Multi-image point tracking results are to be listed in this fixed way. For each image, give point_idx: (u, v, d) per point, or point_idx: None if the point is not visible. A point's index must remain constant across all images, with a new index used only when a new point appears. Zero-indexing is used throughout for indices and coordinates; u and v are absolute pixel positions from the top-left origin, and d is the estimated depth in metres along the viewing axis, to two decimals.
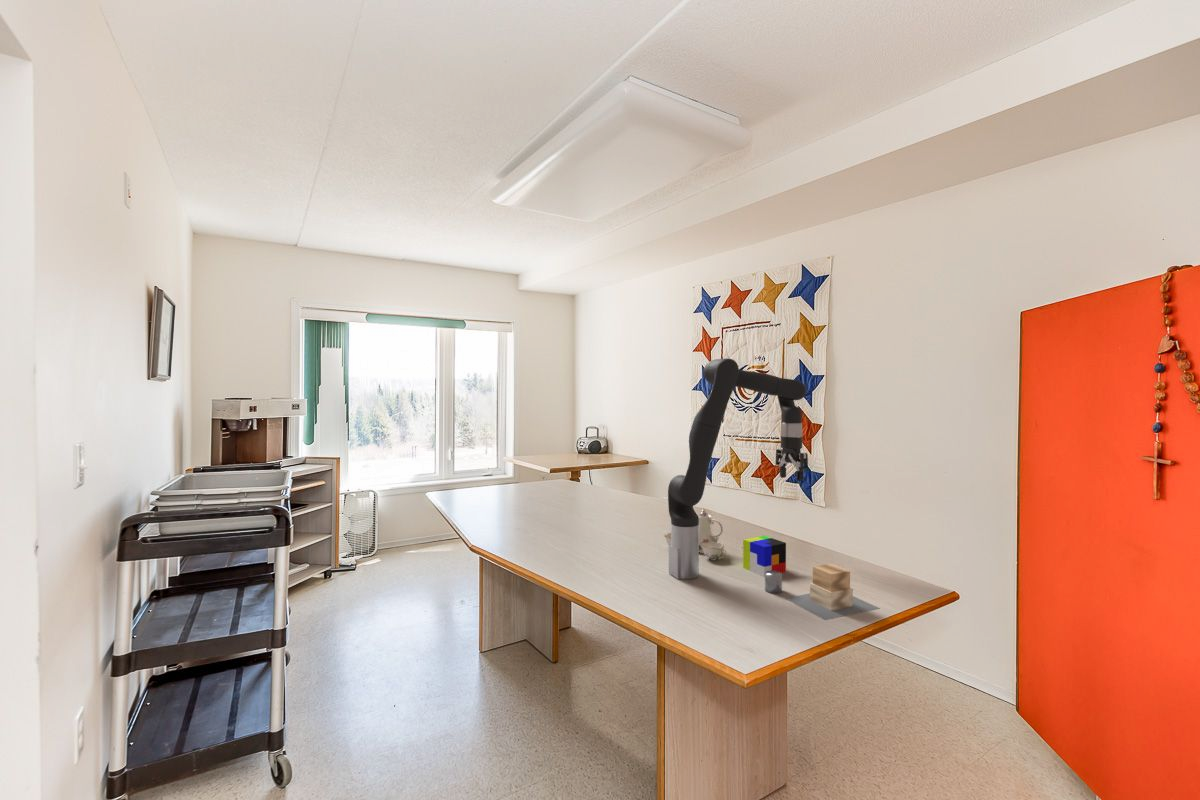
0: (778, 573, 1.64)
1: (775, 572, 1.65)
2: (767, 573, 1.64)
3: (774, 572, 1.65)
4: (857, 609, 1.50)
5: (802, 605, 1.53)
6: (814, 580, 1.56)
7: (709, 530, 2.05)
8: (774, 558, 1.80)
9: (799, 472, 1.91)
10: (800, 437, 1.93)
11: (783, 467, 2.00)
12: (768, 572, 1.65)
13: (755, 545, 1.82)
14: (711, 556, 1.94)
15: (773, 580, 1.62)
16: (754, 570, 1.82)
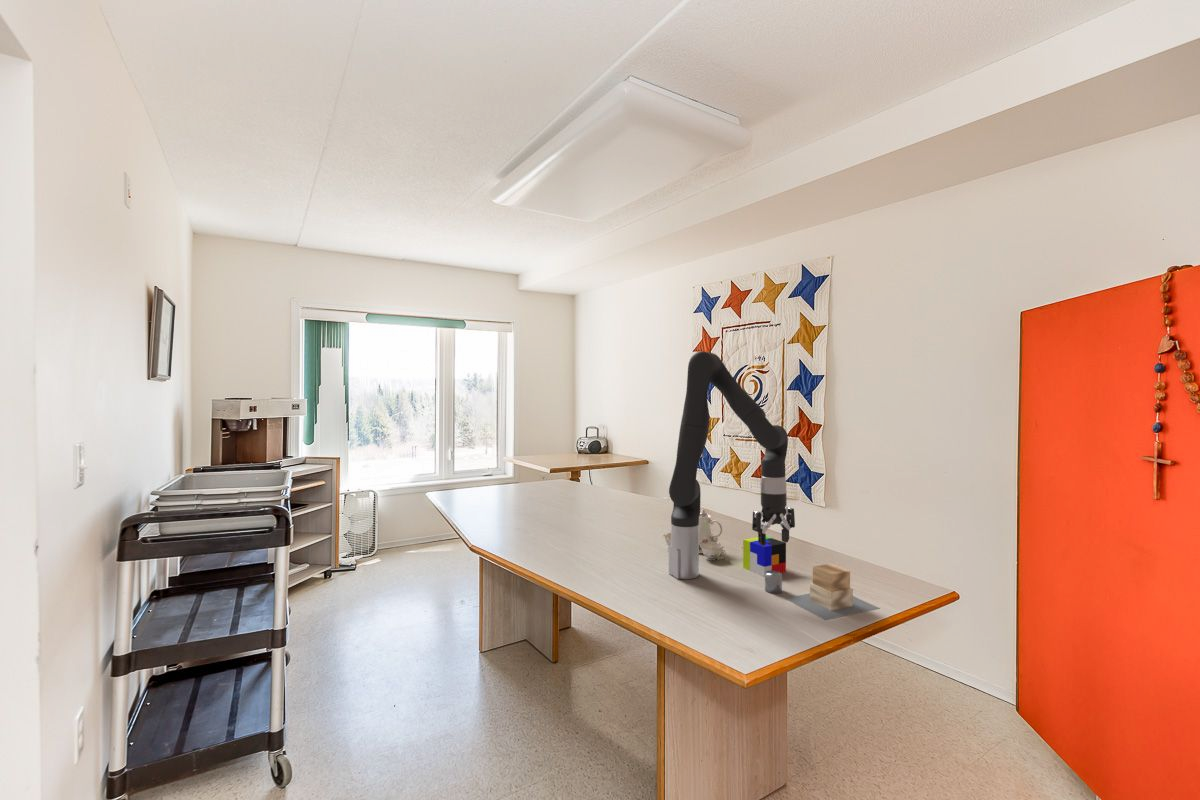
0: (778, 573, 1.64)
1: (775, 572, 1.65)
2: (767, 573, 1.64)
3: (774, 572, 1.65)
4: (857, 609, 1.50)
5: (802, 605, 1.53)
6: (814, 580, 1.56)
7: (709, 530, 2.05)
8: (774, 558, 1.80)
9: (788, 531, 1.65)
10: None
11: None
12: (768, 572, 1.65)
13: (755, 545, 1.82)
14: (710, 556, 1.94)
15: (773, 580, 1.62)
16: (754, 570, 1.82)
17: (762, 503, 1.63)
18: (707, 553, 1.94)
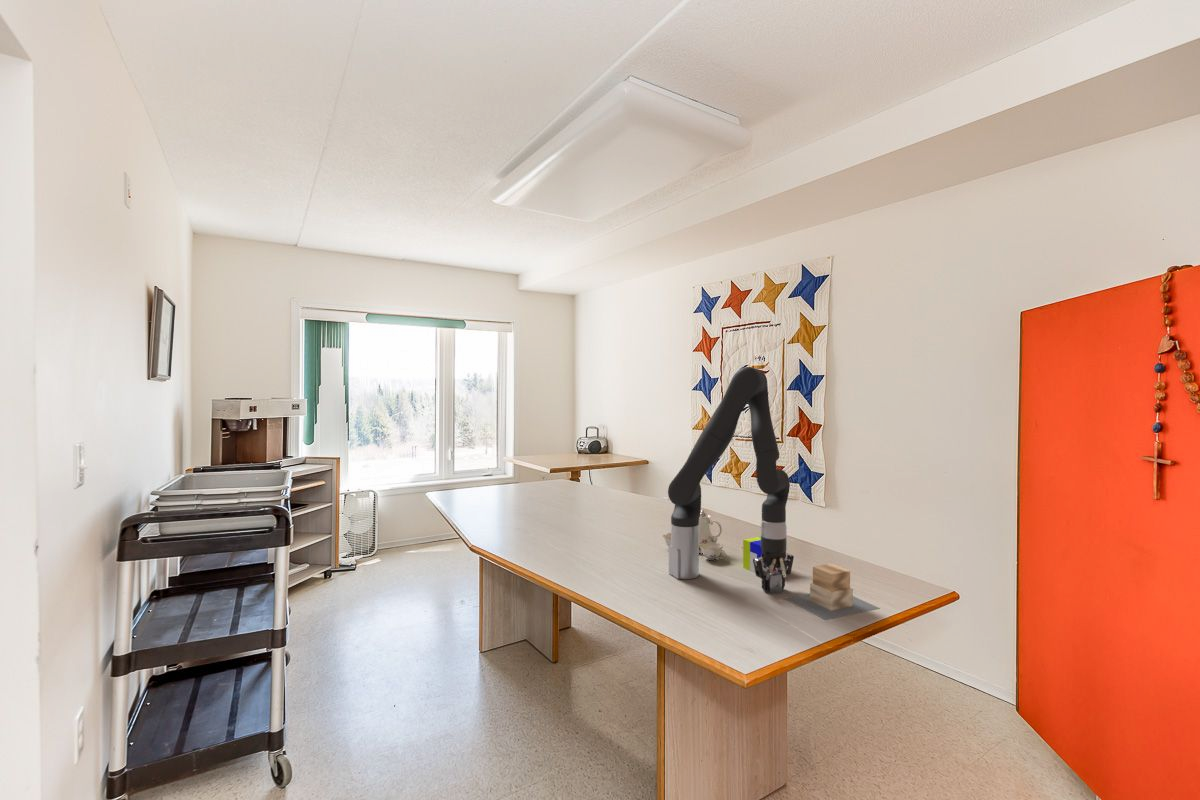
0: (778, 573, 1.64)
1: (775, 572, 1.65)
2: None
3: (774, 572, 1.65)
4: (857, 609, 1.50)
5: (802, 605, 1.53)
6: (814, 580, 1.56)
7: (708, 530, 2.05)
8: None
9: (784, 578, 1.65)
10: None
11: None
12: None
13: (755, 545, 1.82)
14: (709, 556, 1.94)
15: (773, 580, 1.62)
16: (754, 570, 1.82)
17: (762, 547, 1.63)
18: (706, 553, 1.94)
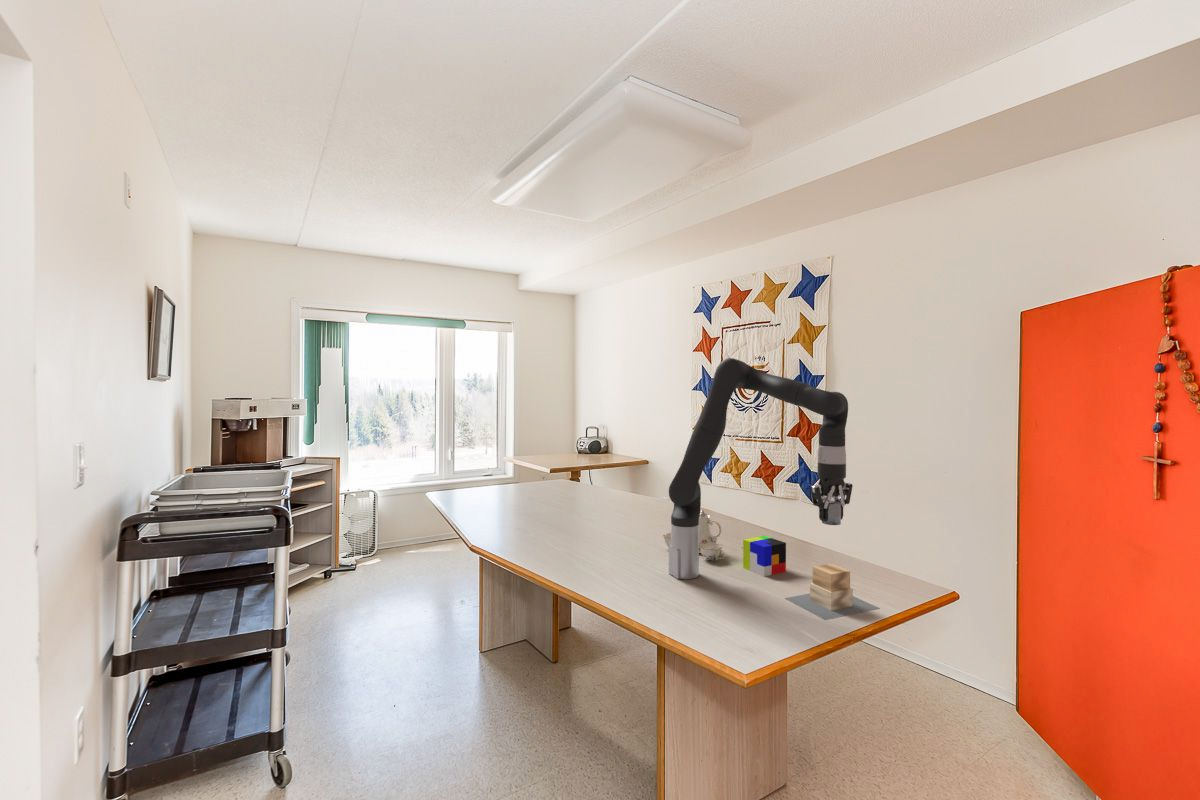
0: (836, 502, 1.54)
1: (833, 501, 1.55)
2: None
3: (832, 501, 1.55)
4: (857, 609, 1.50)
5: (802, 605, 1.53)
6: (814, 580, 1.56)
7: (708, 531, 2.04)
8: (774, 558, 1.80)
9: None
10: None
11: None
12: None
13: (755, 545, 1.82)
14: (709, 557, 1.94)
15: (832, 508, 1.52)
16: (754, 570, 1.82)
17: (820, 474, 1.53)
18: (705, 553, 1.94)
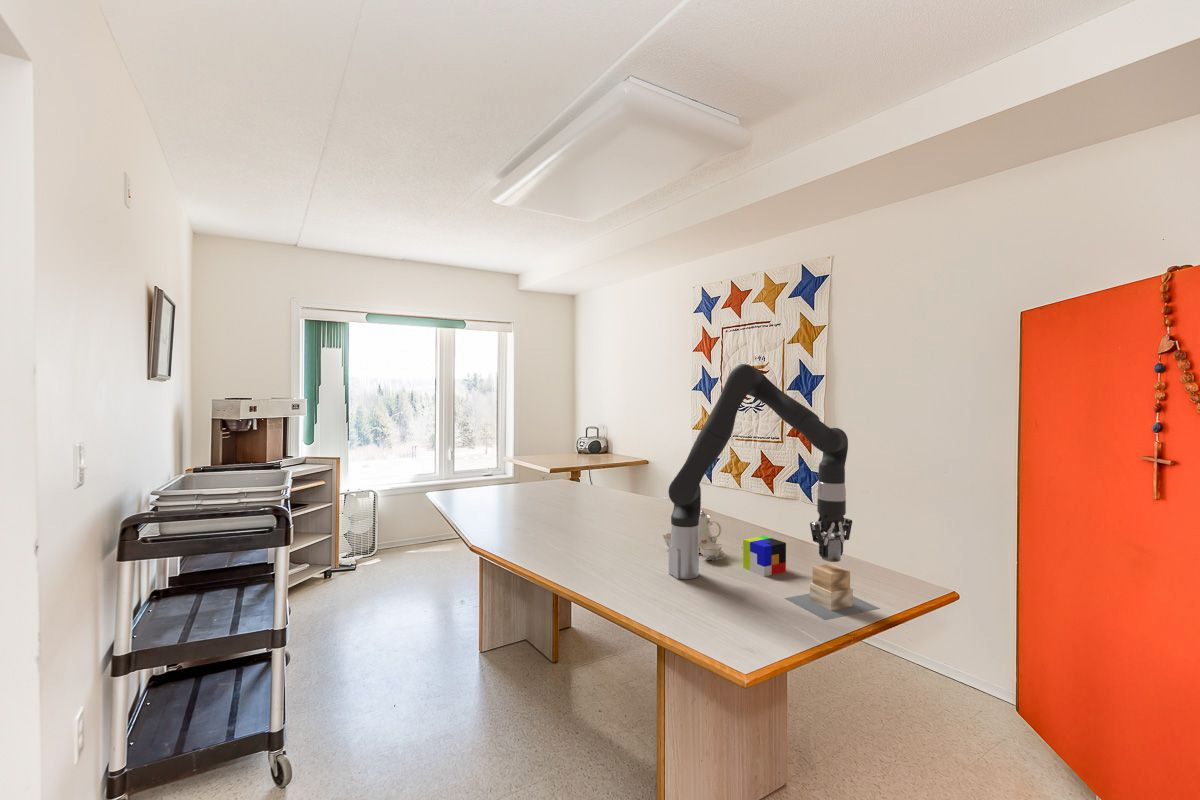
0: (836, 538, 1.54)
1: (833, 537, 1.55)
2: None
3: (832, 537, 1.55)
4: (857, 609, 1.50)
5: (802, 605, 1.53)
6: (814, 580, 1.56)
7: (708, 531, 2.04)
8: (774, 558, 1.80)
9: (842, 544, 1.55)
10: None
11: None
12: None
13: (755, 545, 1.82)
14: (708, 557, 1.93)
15: (832, 545, 1.52)
16: (754, 570, 1.82)
17: (819, 510, 1.53)
18: (705, 553, 1.93)
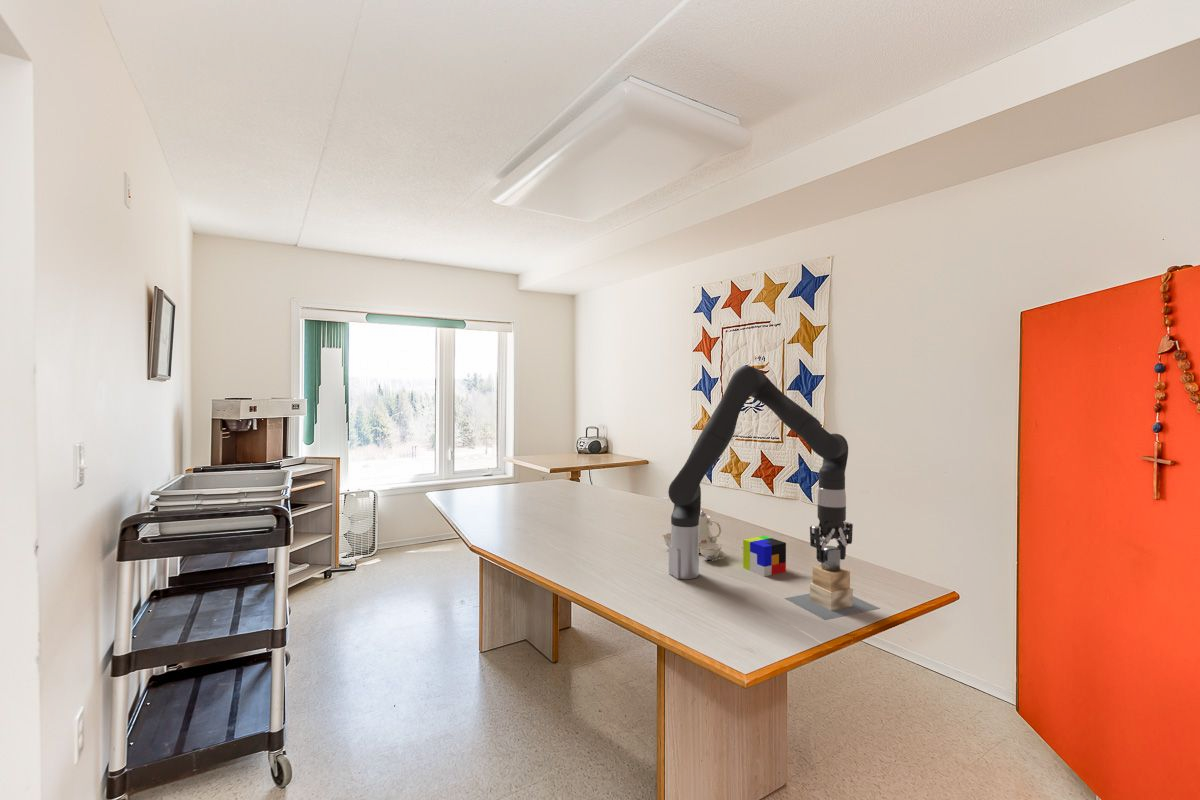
0: (836, 548, 1.54)
1: (832, 547, 1.55)
2: None
3: (831, 547, 1.55)
4: (857, 609, 1.50)
5: (802, 605, 1.53)
6: (814, 580, 1.56)
7: (707, 531, 2.04)
8: (774, 558, 1.80)
9: (844, 547, 1.55)
10: None
11: None
12: (825, 547, 1.55)
13: (755, 545, 1.82)
14: (708, 557, 1.93)
15: (831, 555, 1.52)
16: (754, 570, 1.82)
17: (820, 516, 1.53)
18: (705, 554, 1.93)
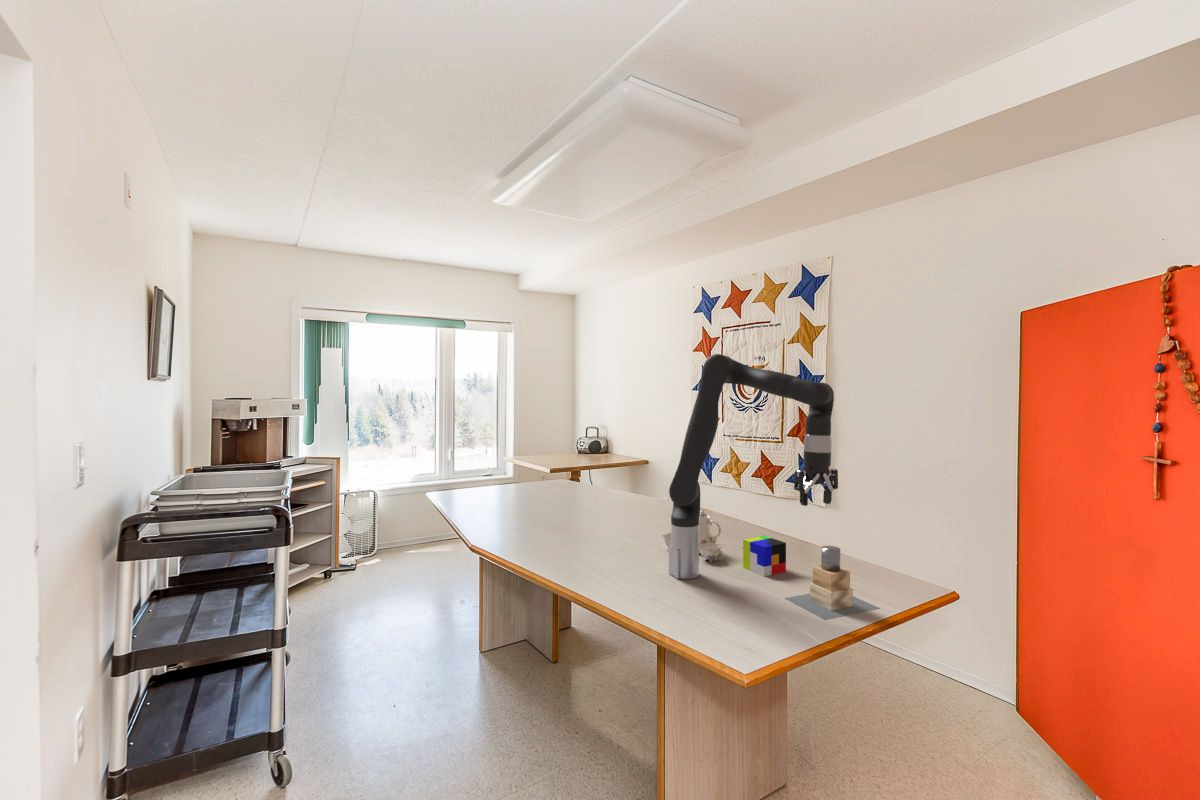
0: (836, 548, 1.54)
1: (832, 547, 1.55)
2: (824, 548, 1.54)
3: (831, 547, 1.55)
4: (857, 609, 1.50)
5: (802, 605, 1.53)
6: (814, 580, 1.56)
7: (707, 531, 2.04)
8: (774, 558, 1.80)
9: (830, 492, 1.60)
10: None
11: None
12: (825, 547, 1.55)
13: (755, 545, 1.82)
14: (708, 557, 1.93)
15: (831, 555, 1.52)
16: (754, 570, 1.82)
17: (805, 462, 1.57)
18: (704, 554, 1.93)
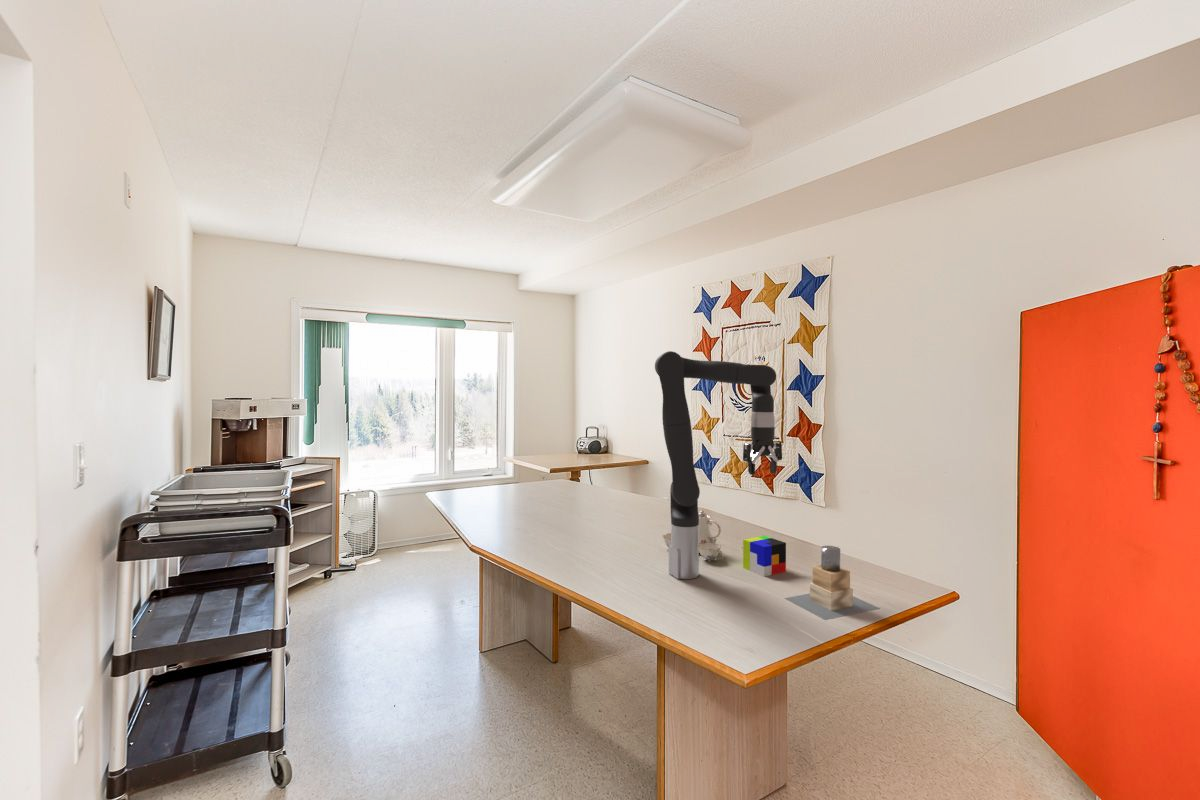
0: (836, 548, 1.54)
1: (832, 547, 1.55)
2: (824, 548, 1.54)
3: (831, 547, 1.55)
4: (857, 609, 1.50)
5: (802, 605, 1.53)
6: (814, 580, 1.56)
7: (707, 531, 2.04)
8: (774, 558, 1.80)
9: (776, 463, 1.80)
10: None
11: None
12: (825, 547, 1.55)
13: (755, 545, 1.82)
14: (707, 557, 1.93)
15: (831, 555, 1.52)
16: (754, 570, 1.82)
17: (752, 436, 1.78)
18: (704, 554, 1.93)
